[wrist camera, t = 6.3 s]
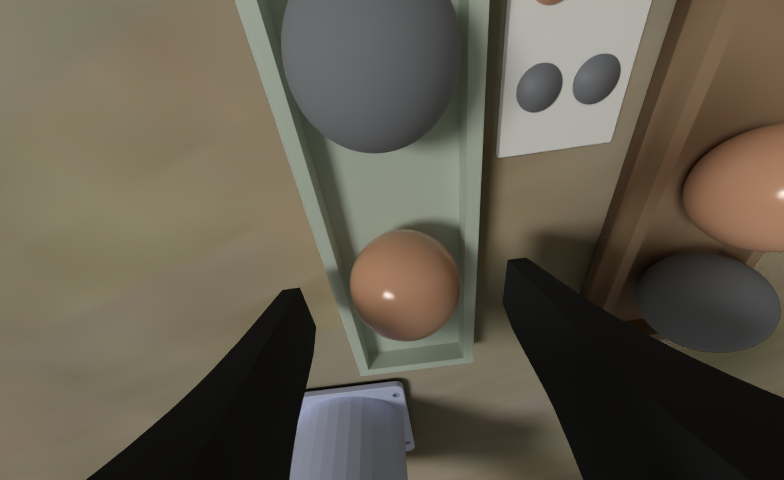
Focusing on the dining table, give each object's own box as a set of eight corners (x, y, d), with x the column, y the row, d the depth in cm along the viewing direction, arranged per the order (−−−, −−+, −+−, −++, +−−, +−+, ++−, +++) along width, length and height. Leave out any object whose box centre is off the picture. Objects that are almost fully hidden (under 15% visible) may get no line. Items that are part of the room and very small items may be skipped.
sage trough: (553, 327, 16) (567, 350, 15) (361, 351, 17) (360, 376, 15) (700, -206, 6) (781, -270, 5) (217, -121, 7) (180, -162, 5)
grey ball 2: (683, 295, 15) (775, 367, 11) (604, 305, 15) (672, 379, 11) (723, 228, 12) (853, 293, 9) (630, 241, 12) (723, 310, 9)
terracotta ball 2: (736, 208, 12) (879, 269, 8) (638, 221, 12) (740, 287, 9) (800, 102, 10) (1028, 128, 6) (678, 119, 10) (839, 155, 6)
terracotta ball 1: (447, 281, 13) (474, 357, 10) (362, 292, 13) (359, 373, 10) (445, 203, 11) (478, 268, 8) (343, 218, 11) (331, 288, 8)
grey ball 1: (443, 123, 9) (481, 163, 6) (323, 141, 9) (295, 189, 6) (439, -44, 7) (494, -128, 4) (283, -18, 7) (204, -79, 4)
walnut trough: (678, 312, 16) (704, 334, 15) (570, 325, 16) (587, 348, 15) (1034, -264, 6) (1205, -347, 5) (747, -214, 6) (839, -280, 5)
